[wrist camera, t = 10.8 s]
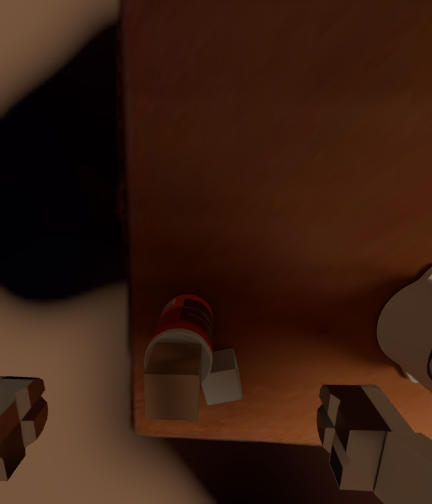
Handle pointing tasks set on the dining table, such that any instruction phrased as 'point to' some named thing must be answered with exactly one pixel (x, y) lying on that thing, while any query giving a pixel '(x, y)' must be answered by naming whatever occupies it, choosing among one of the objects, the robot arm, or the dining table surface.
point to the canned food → (186, 328)
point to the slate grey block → (223, 378)
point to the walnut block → (173, 382)
